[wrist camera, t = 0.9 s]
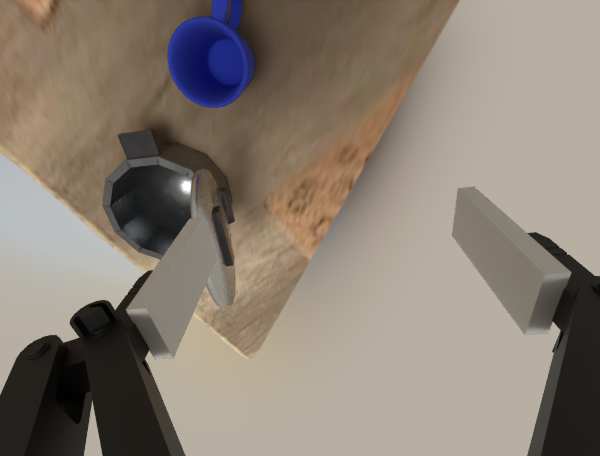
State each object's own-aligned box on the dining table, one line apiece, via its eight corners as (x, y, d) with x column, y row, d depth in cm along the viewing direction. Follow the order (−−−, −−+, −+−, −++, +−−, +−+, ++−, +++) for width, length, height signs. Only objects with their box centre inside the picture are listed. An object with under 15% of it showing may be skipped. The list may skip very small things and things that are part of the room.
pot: (104, 129, 45) (71, 141, 39) (222, 114, 43) (208, 124, 37) (156, 255, 56) (137, 280, 50) (253, 247, 54) (245, 271, 48)
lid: (178, 204, 25) (198, 201, 25) (203, 154, 38) (216, 152, 39) (224, 338, 32) (239, 336, 33) (232, 257, 46) (242, 255, 46)
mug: (277, 2, 37) (266, -13, 28) (253, 105, 43) (238, 118, 34) (209, -24, 36) (176, -49, 27) (193, 84, 42) (162, 93, 33)
